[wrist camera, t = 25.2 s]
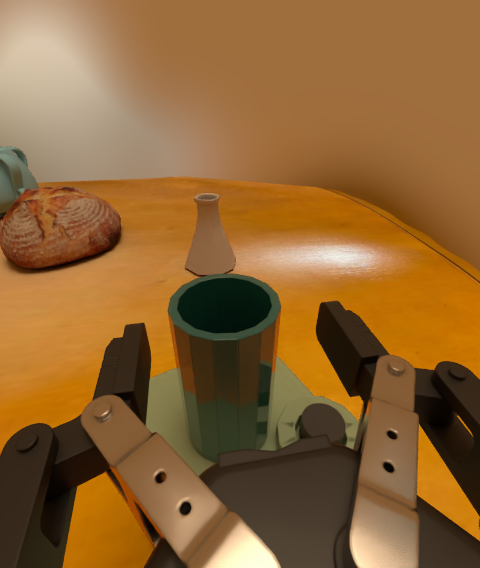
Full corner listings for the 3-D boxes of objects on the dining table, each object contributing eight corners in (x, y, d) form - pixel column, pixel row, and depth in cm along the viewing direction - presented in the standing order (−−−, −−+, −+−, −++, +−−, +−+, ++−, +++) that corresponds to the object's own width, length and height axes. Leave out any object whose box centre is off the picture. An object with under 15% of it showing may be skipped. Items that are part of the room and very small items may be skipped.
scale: (375, 467, 21) (385, 447, 20) (175, 621, 15) (169, 607, 14) (260, 341, 32) (261, 322, 30) (114, 402, 25) (107, 381, 24)
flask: (176, 270, 44) (167, 200, 38) (202, 249, 49) (197, 186, 44) (221, 282, 41) (218, 208, 36) (244, 259, 46) (244, 192, 41)
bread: (-19, 279, 43) (-61, 210, 38) (56, 225, 60) (35, 172, 55) (93, 275, 42) (67, 204, 37) (139, 221, 59) (125, 166, 53)
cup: (278, 401, 24) (290, 283, 18) (255, 478, 19) (262, 352, 14) (208, 380, 26) (198, 266, 20) (171, 447, 21) (145, 323, 15)
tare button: (350, 442, 20) (355, 428, 20) (318, 464, 19) (322, 450, 18) (321, 410, 22) (324, 396, 22) (290, 428, 21) (292, 414, 20)
